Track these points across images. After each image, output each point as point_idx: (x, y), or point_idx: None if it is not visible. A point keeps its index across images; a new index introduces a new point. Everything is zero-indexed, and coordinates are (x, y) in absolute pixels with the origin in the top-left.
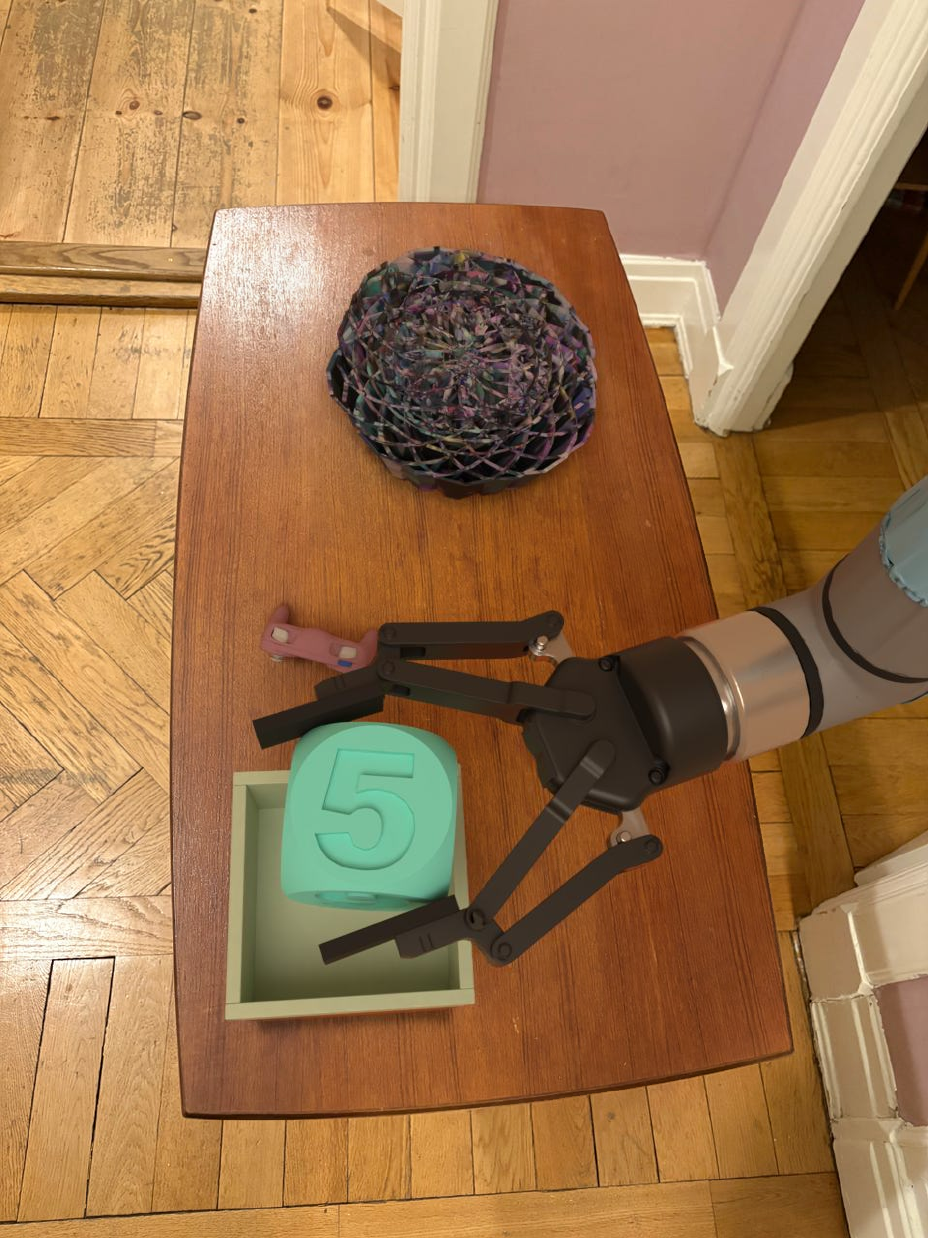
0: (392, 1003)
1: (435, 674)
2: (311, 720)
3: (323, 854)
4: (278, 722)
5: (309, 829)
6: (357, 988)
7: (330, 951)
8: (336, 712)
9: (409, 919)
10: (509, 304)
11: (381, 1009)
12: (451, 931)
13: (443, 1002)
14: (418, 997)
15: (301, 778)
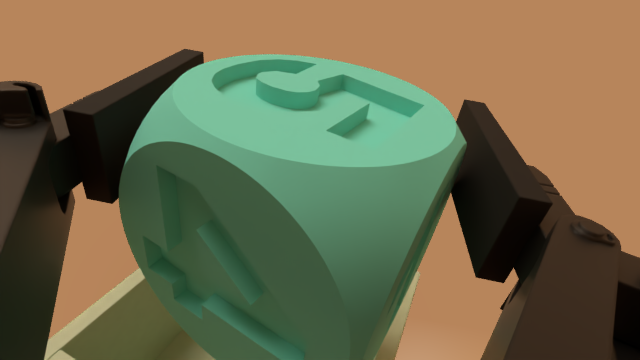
0: (127, 282)
1: (585, 306)
2: (475, 144)
3: (287, 59)
4: (478, 111)
5: (324, 64)
6: (182, 342)
7: (187, 52)
8: (485, 161)
9: (133, 83)
10: None
11: (133, 272)
12: (60, 119)
13: (72, 324)
14: (105, 304)
15: (393, 79)
